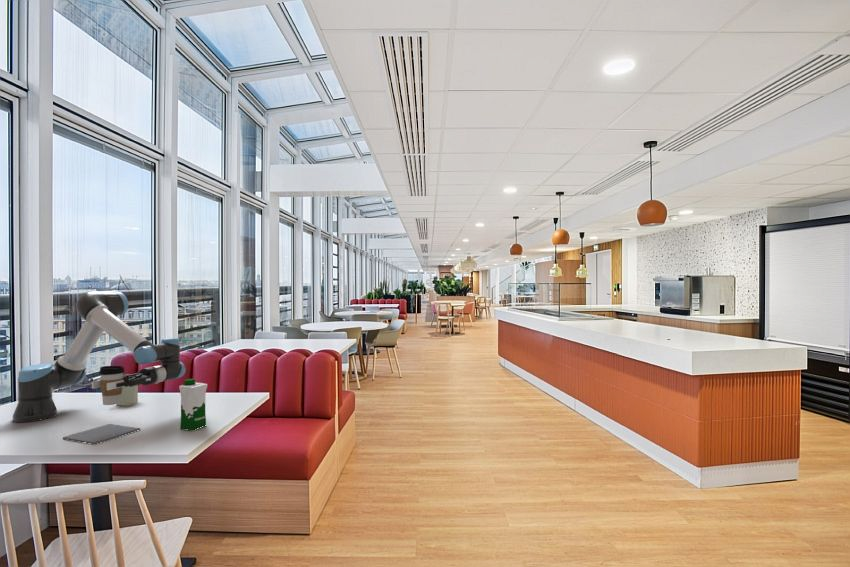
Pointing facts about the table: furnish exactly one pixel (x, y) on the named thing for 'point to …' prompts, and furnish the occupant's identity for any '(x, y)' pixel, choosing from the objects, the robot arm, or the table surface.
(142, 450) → the table surface
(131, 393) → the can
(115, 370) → the coffee cup
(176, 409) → the table surface
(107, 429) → the mat
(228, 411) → the table surface
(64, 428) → the table surface
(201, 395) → the milk carton
